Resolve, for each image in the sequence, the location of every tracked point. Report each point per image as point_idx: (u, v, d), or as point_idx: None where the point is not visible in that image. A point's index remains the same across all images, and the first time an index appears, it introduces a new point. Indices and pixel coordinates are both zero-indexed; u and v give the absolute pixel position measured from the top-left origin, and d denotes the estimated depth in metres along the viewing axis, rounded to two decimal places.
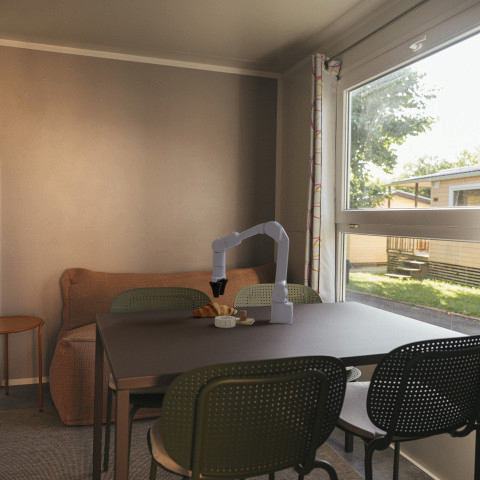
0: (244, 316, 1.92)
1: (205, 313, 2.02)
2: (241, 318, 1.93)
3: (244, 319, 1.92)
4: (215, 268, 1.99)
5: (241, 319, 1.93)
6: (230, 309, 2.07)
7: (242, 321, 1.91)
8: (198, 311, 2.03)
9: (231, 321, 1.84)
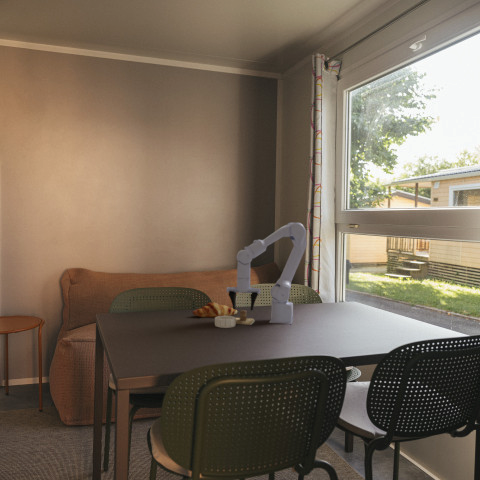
0: (244, 316, 1.92)
1: (205, 313, 2.02)
2: (241, 318, 1.93)
3: (244, 319, 1.92)
4: None
5: (241, 319, 1.93)
6: (230, 309, 2.07)
7: (242, 321, 1.91)
8: (198, 311, 2.03)
9: (231, 321, 1.84)
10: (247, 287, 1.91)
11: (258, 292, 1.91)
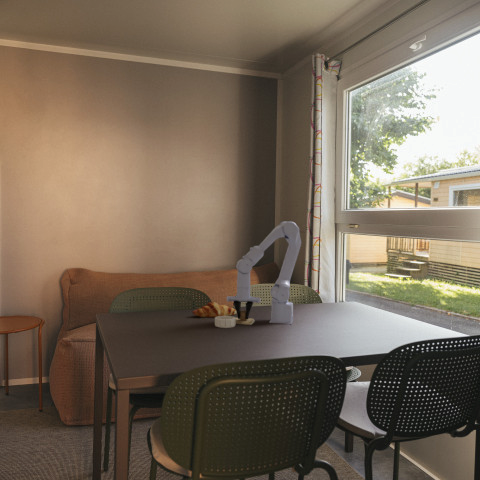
0: (244, 316, 1.92)
1: (205, 313, 2.02)
2: (241, 318, 1.93)
3: (244, 319, 1.92)
4: None
5: (241, 319, 1.93)
6: (230, 309, 2.07)
7: (242, 321, 1.91)
8: (198, 311, 2.03)
9: (231, 321, 1.84)
10: (247, 296, 1.91)
11: (258, 301, 1.91)
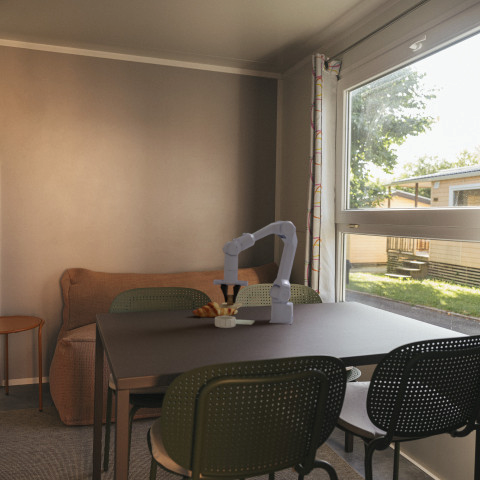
0: (231, 300, 1.88)
1: (205, 313, 2.02)
2: (228, 302, 1.88)
3: (231, 303, 1.88)
4: None
5: (228, 303, 1.88)
6: (230, 309, 2.07)
7: (229, 305, 1.86)
8: (198, 311, 2.04)
9: (231, 321, 1.84)
10: (234, 279, 1.86)
11: (246, 285, 1.86)
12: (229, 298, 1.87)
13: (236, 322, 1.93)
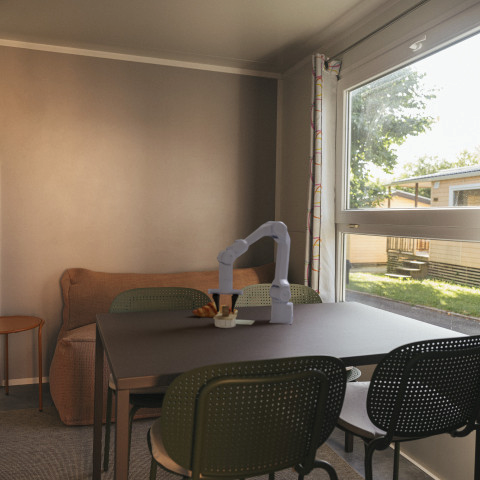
0: (226, 312, 1.86)
1: (205, 313, 2.03)
2: (223, 314, 1.86)
3: (226, 315, 1.86)
4: None
5: (223, 315, 1.86)
6: (230, 309, 2.07)
7: (224, 317, 1.84)
8: (198, 311, 2.04)
9: (231, 321, 1.84)
10: (229, 289, 1.84)
11: (241, 294, 1.85)
12: (224, 309, 1.86)
13: (236, 322, 1.93)
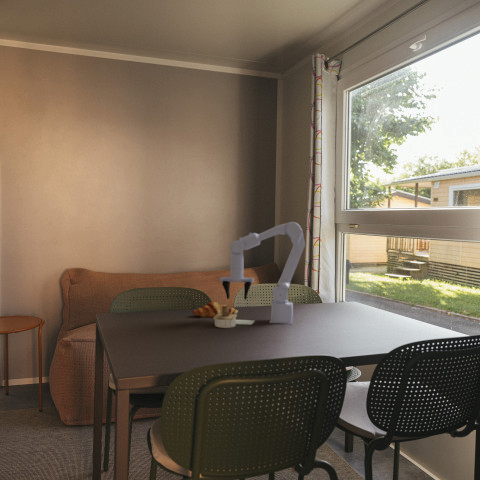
0: (226, 312, 1.86)
1: (205, 313, 2.03)
2: (223, 314, 1.86)
3: (226, 315, 1.86)
4: None
5: (223, 315, 1.86)
6: (230, 309, 2.07)
7: (224, 317, 1.84)
8: (198, 311, 2.04)
9: (231, 321, 1.84)
10: (240, 277, 1.94)
11: (251, 281, 1.94)
12: (224, 309, 1.86)
13: (236, 322, 1.93)
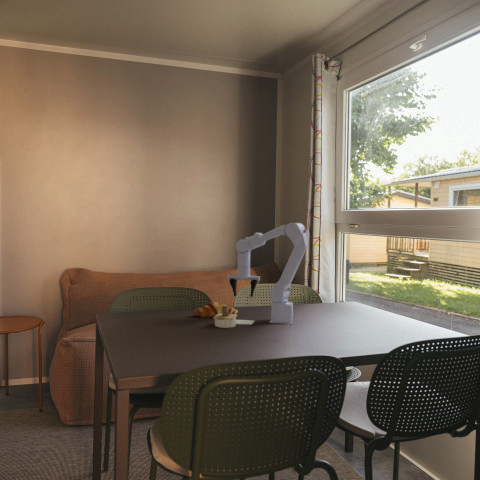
0: (226, 312, 1.86)
1: (205, 313, 2.03)
2: (223, 314, 1.86)
3: (226, 315, 1.86)
4: None
5: (223, 315, 1.86)
6: (230, 309, 2.08)
7: (224, 317, 1.84)
8: (198, 310, 2.04)
9: (231, 321, 1.84)
10: (247, 275, 2.01)
11: (257, 279, 2.01)
12: (224, 309, 1.86)
13: (236, 322, 1.93)
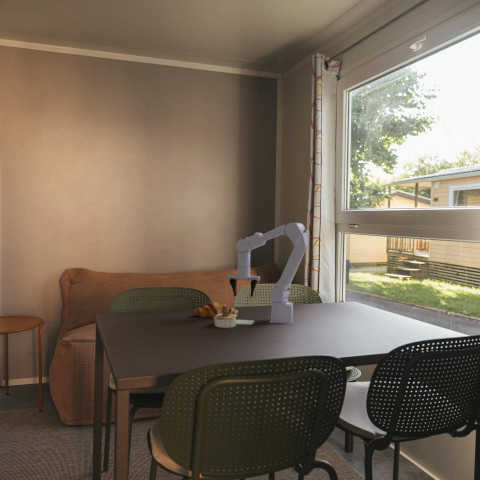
0: (226, 312, 1.86)
1: (205, 313, 2.03)
2: (223, 314, 1.86)
3: (226, 315, 1.86)
4: None
5: (223, 315, 1.86)
6: (230, 309, 2.08)
7: (224, 317, 1.84)
8: (198, 310, 2.04)
9: (231, 321, 1.84)
10: (247, 275, 2.01)
11: (257, 279, 2.01)
12: (224, 309, 1.86)
13: (236, 322, 1.93)
